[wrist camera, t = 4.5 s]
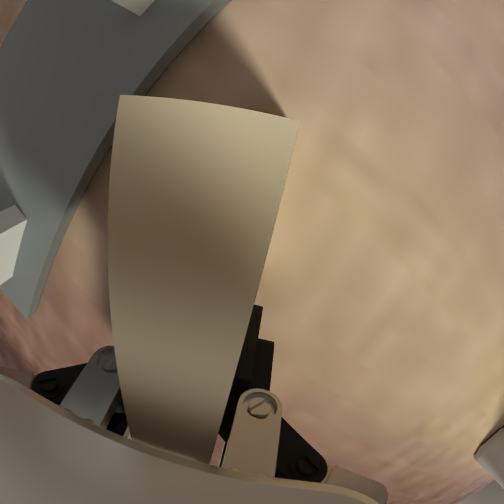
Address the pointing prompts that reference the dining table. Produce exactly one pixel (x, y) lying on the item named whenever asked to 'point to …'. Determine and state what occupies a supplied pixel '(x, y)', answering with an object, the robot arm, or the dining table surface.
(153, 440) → the slat
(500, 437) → the flask
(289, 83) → the dining table surface
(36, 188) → the frame
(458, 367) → the dining table surface
